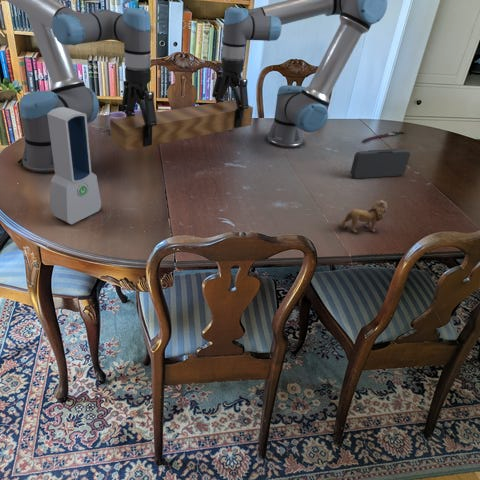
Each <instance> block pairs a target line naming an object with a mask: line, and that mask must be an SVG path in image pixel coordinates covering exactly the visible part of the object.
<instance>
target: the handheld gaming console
mask: <svg viewBox="0 0 480 480" xmlns="http://www.w3.org/2000/svg"><path fill="white" fill-rule="evenodd" d="M410 156H411V152H410V150H409V149H402V148H401V149H396V148H395V149H393V148H392V149H374V150H373V149H372V150H371V149H370V150H360V151H357V152H355V154H354V157H353V161H352V165H351V168H350V169H351V170H350V176H351V177H353V178H354V179H368V178H369V179H370V178H383V177H384V178H385V177H398V176H403V175H404V174H405V172H406V169H407V166H408V164H409V160H410Z"/></svg>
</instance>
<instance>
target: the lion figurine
mask: <svg viewBox="0 0 480 480" xmlns="http://www.w3.org/2000/svg"><path fill="white" fill-rule="evenodd" d="M387 211H388V202H386V201H384V200H383V199H381V200H377V201H375V203H374V205H373V206H372V207H371V208H370V209H367V210H364V209H363V210H362V209H359V208H358V209H357V208H353V209H350V211H349V212H347V214H346V215H345V217H344V219H343V220H342V222H341V227H340V228H339V230H340V231H342V230H343V229H345V228H346V223H347V222H350V221H351V225H350V229H351V230H352V232H353V233H355V234H356V233H358V230H357V229H355V227H356V225H357V224H358V222H362V223H365V225H364V226H365V227H366V228H370V231H371V232H372V233H374V232H376V229H375V227H376V225H377V222H380V221H381V220H383V219H384V217H385V216H386V214H387ZM370 223H371V226H370Z"/></svg>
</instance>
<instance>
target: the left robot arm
mask: <svg viewBox="0 0 480 480" xmlns="http://www.w3.org/2000/svg"><path fill="white" fill-rule="evenodd" d="M0 1H1V2H7V3H9V4H10V5H12V6H14V7H15V8H17V9H19V11H22V12H23V13H25V14H26V17H27V20H28V22H29V25H30V28H31V30H32V33H33V36H34V39H35V42H36V43H37V47H38V49H39V52H40V55H41V57H42V60H43V63H44V65H45V67H46V71H47V73H48V76H49V79H50V81H51V87H50V89H49V90H40V91H39V90H36V91H31V92H29V93H26V94H24V95H23V96H22V97H21V98H20V100H19V103H18V104H19V116H20V119H21V125H22V132H23V136H24V148H23V153H22V157H20V159H18V161H16V162H17V164H18V165H19V164H21V163H22V166H23V168H24V169H25V170H27V171H29V172H33V173H39V174H46V173H55V169H54V162H53V154H52V147H51V139H50V132H49V124H48V117H47V113H49V112H50V111H51V110H53V109H55V108H59V107H65V108H69V109H72V110H75V111H78V112H81V113H84V114H86V116H87V124H89V123H93V122H94V121H95V120H96V119H97V118H98V114H99V111H100V103H99V99H98V96H97V94H96V92H95V91H94V90H93V89H91V88H90V87H87V86H86V83H85V81H84V80H82V79H81V78H79V77H78V74H77V72H76V69H75V67H74V63H73V60H72V57H71V55H70V52H69V49H68V47H67V46H78V45H82V44H89V43H98V42H104V41H116V42H119V43H123V46H124V47H123V55H124V57H123V59H124V66H125V68H124V79H125V80H123V92H122V102H121V110H122V111H123V112H125V114H126V117H129V116H135V114H132V113H135V111H134V110H135V109H136V108H135V107H136V105H137V104H138V105H139V108H140V110H141V112H142V116H143V120H144V124H145V125H143V146H147V147H150V146H149V145H152V126H155V125H157V121H156V113H155V111H156V106H155V93H154V91H149V88H148V84H149V83H151V81H152V70H151V67H152V63H151V62H152V50H151V49H152V48H151V47H152V45H151V44H152V42H151V41H152V22H151V14H150V12H149V10H147V9H145V8H144V9H143V8H137V7H126V8H124V9H123V10H122V13H121V12H117V11H113V10H111V9H108V8H105V9H104V8H98V9H95V10H94V11H93V12H92V11H91V12H78V11H76V10H73V9H72V8H71V7H69V6H67V5H65V4H63V3H62V2H60V1H59V0H0ZM152 146H153V145H152Z"/></svg>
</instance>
